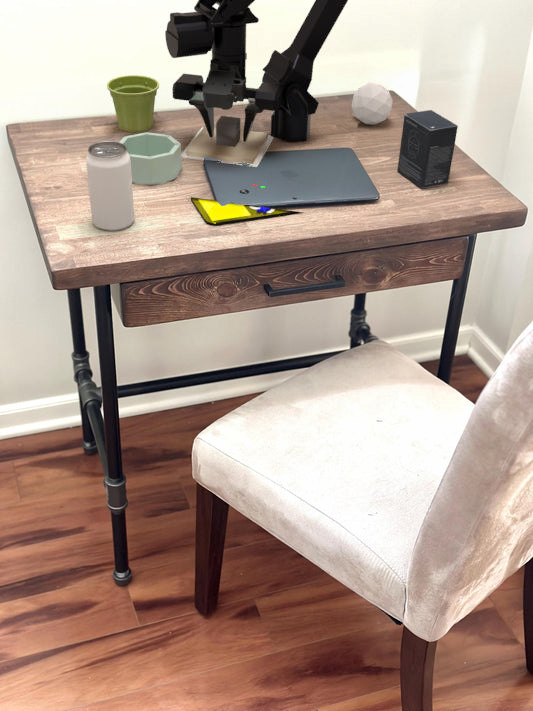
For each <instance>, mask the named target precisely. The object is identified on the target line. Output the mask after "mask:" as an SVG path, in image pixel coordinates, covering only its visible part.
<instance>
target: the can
mask: <svg viewBox="0 0 533 711" xmlns="http://www.w3.org/2000/svg"><path fill="white" fill-rule="evenodd" d="M119 142H120V141H119ZM119 142H118V141H114V140H107V141H106V140H105V141H99V142H95V143H92V144H90V146H89V147H88V148H87V152H88V153H87V156H86V158H85V159H86V160H85V163H86V173H87V175H86V176H87V184H88V193H89V195H88V196H89V202H90V203H89V205H90V214H91V222H92V223H93V224H92V225H94V226H95V227H96V228H97V229H99V230H103V231H105V232H107V231H108V232H116V231H122V230H123V231H124V230H125V229H127V228H130V226H132V225H133V223H134V221H135V208H134V192H133V191H134V190H133V183H132V174H131V161H130V156H129V154H128V153H127V147H126V146H125V145H124V144H122V143H119Z"/></svg>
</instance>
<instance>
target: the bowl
mask: <svg viewBox="0 0 533 711" xmlns="http://www.w3.org/2000/svg"><path fill="white" fill-rule="evenodd" d="M119 143H122V144H124V145H125V146H126V147H127V153H128V154H129V156H130V161H131V174H132V184H135V185H144V186H148V185H149V186H150V185H151V186H154V185H161V184H165V183H168V182H171V181H172V180H175V179H176V178H177V177H178V176H179V174H180V172H181V171H182V168H183V167H182V158H181V154H182V144H181V143H180V142H179V141H177V139H175V138H174V137H173V136H172V135H170V134H162V133H157V132H156V133H155V132H147V131H144V132H139V133H136V134H131V135H127V136H126V135H125V136H123V137H122V138H121V139H120V141H119Z"/></svg>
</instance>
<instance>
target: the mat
mask: <svg viewBox="0 0 533 711" xmlns="http://www.w3.org/2000/svg"><path fill="white" fill-rule="evenodd" d="M204 127H205V126H201V128H200V129H199V130H198V131H197V133H196V134H195V135H194V136H193V138H192V139H191V140H190V142H189V143H188V145H187V146H186V147H185V149H184V150H183V151H182V152H181V159H189V160H190V159H191V160H197V161H204V158H203V157H195V156H187V155H186V151H187V149H188V148H189V147H190V145H191V144H192V143H193V141H194V140H195V139H196V137H197V136H198V135H199V133H200V132H201V131H202V129H203V128H204ZM274 139H275V138H274V137H272V136H271V134H270V135H269V134H268V139H267V140H266V142H265V144H264V145H263V147H262V149H261V151H260V152H259V154H258V156H257V157H256V159H255V161H254V163H253V164H250V165H249V166H248V167H251V166H252V167H253V168H258V166H259V164H260V163H261V161H262V159H263V158H264V156H265V154H266V153H267V151H268V148H269V147H270V145H271V143H272V142H273V140H274ZM218 161H221V160H218ZM221 163H222V164H230V165H235V164H236V165H237V166H243V165H242V164H238V163H241V162H234V161H226V160H222V161H221ZM221 163H220V164H221ZM247 164H249V163H247Z"/></svg>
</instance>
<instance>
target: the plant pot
mask: <svg viewBox="0 0 533 711" xmlns="http://www.w3.org/2000/svg"><path fill="white" fill-rule="evenodd" d="M159 88H160V83H159V81H158V80H157V79H156V78H154V77H151V76H146V75H135V74H133V75H123V76H119V77H118V76H117V77H116V78H112V79H111V80H109V81H108V82H107V83H106V89H107V90H108V91H109V93H110V96H111V98H112V101H113V102H112V103H113V105H114V110H115V116H116V120H117V124H118V129H119V130H120V131H121V130H122V131H124V132H129V133H143V132H147V131H148V130H150V129H152V128H153V126H154V125H153V124H154V113H155V103H156V102H155V101H156V96H157V93H158V92H157V91H158V89H159Z"/></svg>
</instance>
